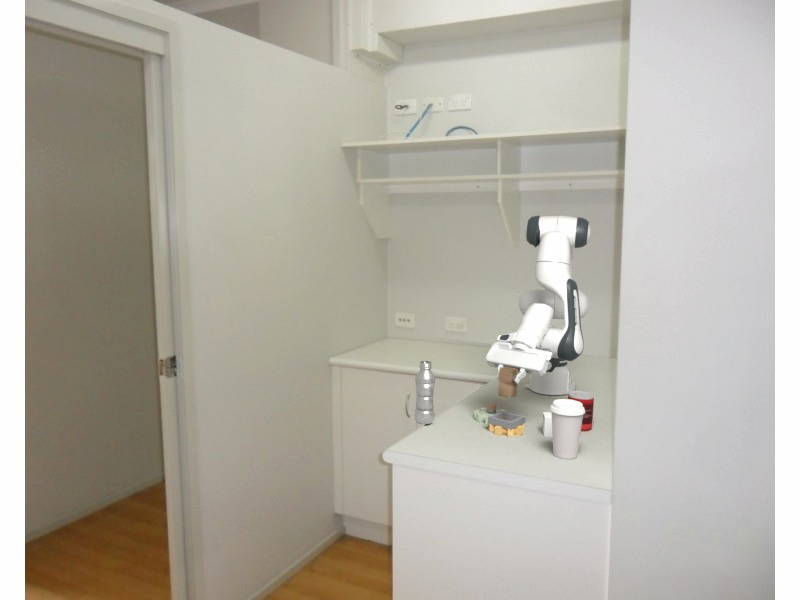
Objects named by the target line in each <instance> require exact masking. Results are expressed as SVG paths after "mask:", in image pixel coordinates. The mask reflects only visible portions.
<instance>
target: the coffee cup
mask: <svg viewBox="0 0 800 600" xmlns="http://www.w3.org/2000/svg"><path fill="white" fill-rule="evenodd" d="M549 410H550V411H551V412H552V435H553V437H552V454H553V456H555V457H556V458H559V459H561V458H562V459H561V460H574V459H577V457H578V453H579V452H578V451H579V447H580V446H579V445H580V437H581V432H582V431H581V426H582V419H583V414H585V409H584V407H583V404H582V403H581V402H579V401H575V400H570V399H568V398H567V399H566V398H561V399H560V398H558V399H554V400H553V401H552V404H551V405H550V407H549Z"/></svg>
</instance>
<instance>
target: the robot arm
mask: <svg viewBox="0 0 800 600" xmlns="http://www.w3.org/2000/svg"><path fill="white" fill-rule="evenodd" d="M524 227H525V228H524V235H525V238H526V242H528V244H530V245H531V246H533V247H534V248H537V247H538V248H537V254H536V259H535V267H534V276H535V280H536V282H537V284H538V285H539V286H540V287H542V288H543V289H538V288H536V289H531V290H525V291H524V292H523V293H522V294H521V295H520V297H519V301H518V307H519V311H520V313H521V314H522V318H521V321H520V323H519V324H520V325H519V327H518V328H517V329H516V330H515V331H514V332H510V333H504V334H500V335H498V336H497V337H496V340H497V341H495V342H494V343H493V344H492V345H491V347H490V349H489V350H488V351H487V354H486V355H485V361H486V363H487V365H488V366H489V367H491V368H492V367H493V368H496V369H498V370H497V371H498V373H497V375H496V378H497V380H498V381H499V370H500V369H501V368H504V367H511V368H516V369H518V373H517V376H514V377H513V379H512V381H513V383H517V385H518V384H519V383H520V381H521V380H522V379H524V377H527V375H529V383H526V384H525V388H526V389H529V390H530V391H532V392H533V393H537V394H541V395H546V396H547V395H549V396H563V395H568V393H569V392H571V391H576V385H577V384H576V382H574V381H572V379H571V370H570V368H569V367H568V361H569V362H572V361H575V360H576V359H577V358H579V357H580V356H581V355H582V354H583V352H584V349H585V347H584V346H585V343H584V337H583V332H582V324H581V321H582V320H581V319H583V318H584V317H585V316H586V315H587V314H588V312H589V309H590V302H589V301H590V300H589V298H588V296H587V294H585V293H584V292H583V291H581V290H580V289H579V288H578V284H577V282H576V281H575V280H574V278H573V259H574V256H573V255H574V254H573V253H574V252H573V251H574V248H575V249H580V248H583V247H585V246H587V244H588V242H589V241H590V238H591V235H592V229H591V226H590V221H588V219H587V218H584V217H580V216H578V217H574V216H569V215H560V214H559V215H534V216H531V217H530V218H528V220H527V222H526V224H525V226H524ZM552 320H563V324H564V326H563V328H558V327H556V326H554V325H553V324H552Z"/></svg>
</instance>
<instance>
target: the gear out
mask: <svg viewBox="0 0 800 600" xmlns="http://www.w3.org/2000/svg"><path fill="white" fill-rule="evenodd" d="M526 417H527V416H525V415H520V414H515V413H513V412H508V411H506V412H504V411H501V412H499V413H497V414H494V415H492V416H489V417H488V424H487V425H488V431H489V432H490V433H492V432H493V433H494V435H496V436H499V435H500V436H502V435H503V434H504V435H503V436H505V435H506V436H507V437H508V436H509V438H510V436H513V438H514V437H515V435H518V436H521V435H523V434H524V432H525V424H526V420H527V419H526Z"/></svg>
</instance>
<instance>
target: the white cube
mask: <svg viewBox="0 0 800 600" xmlns="http://www.w3.org/2000/svg"><path fill="white" fill-rule="evenodd" d="M541 424H542V425H541V427H542V429H541V431H542V435H543V437H545V438H553V435H552V412H548V411H543V412H542V423H541Z"/></svg>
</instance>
